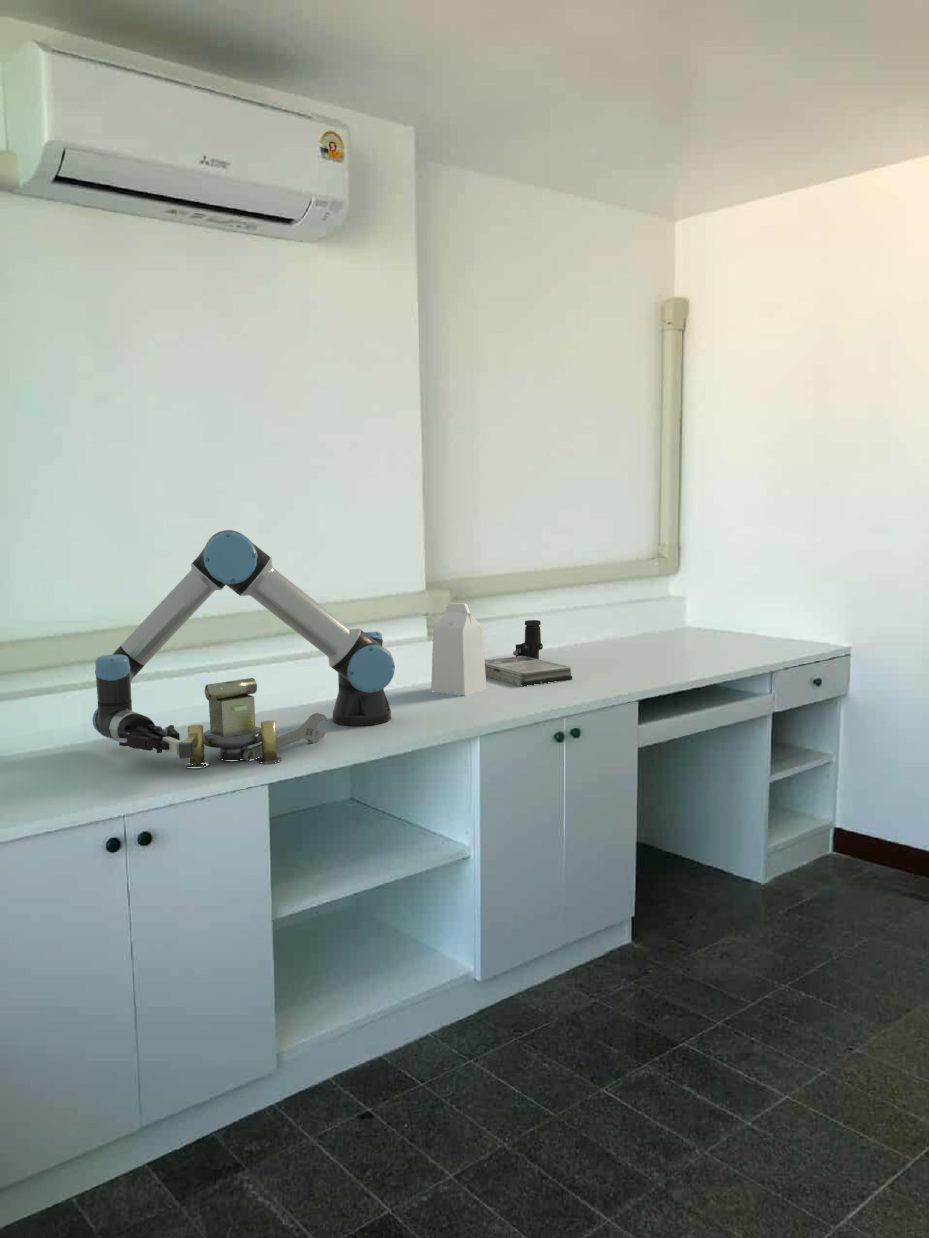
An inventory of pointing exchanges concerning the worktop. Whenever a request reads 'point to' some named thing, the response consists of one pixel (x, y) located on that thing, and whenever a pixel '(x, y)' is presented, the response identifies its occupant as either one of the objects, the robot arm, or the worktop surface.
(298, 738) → the adjustable wrench
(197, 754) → the lever
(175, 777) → the worktop surface
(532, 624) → the scope
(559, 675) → the hard drive
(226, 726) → the surveying level
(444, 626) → the milk
